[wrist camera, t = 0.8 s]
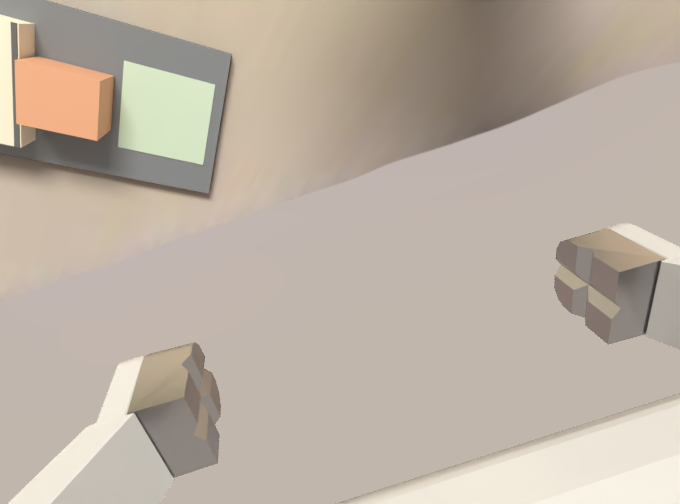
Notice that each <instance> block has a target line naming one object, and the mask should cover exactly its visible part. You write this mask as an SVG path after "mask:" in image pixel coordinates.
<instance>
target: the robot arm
mask: <svg viewBox="0 0 680 504" xmlns="http://www.w3.org/2000/svg"><path fill="white" fill-rule="evenodd" d="M556 259H557V260H558V262H559V263H560V264H561V267H560V268H559V270H558V271H557V273H556V274H555V286H554V288H555V291H556V294H557V296H558V299H559V301H560V302H561V303H562V305H563V306H564V307H565V308H566V309H567V310H568V311H569V312H570V313H572V314H575V315H578V316H581V317H585V324H586V326H587V327H588V328H589V329H590V330H592V331H593V332H594V333H595V334H596V335H597V336H599V337H600V338H601V339H603V341H605V342H606V343H607V344H612V343H615V342H618V341H622V340H626V339H630V338H633V337H637V336H640V335H644V334H646V337H649V338H652V339H654V340H657V341H659V342H662V343H664V344H667V345H669V346H672V347H675V348H677V349H680V247H678V246H676V245H674V244H672V243H670V242H668V241H666V240H664V239H662V238H659V237H658V236H656V235H654V234H651V233H649V232H647V231H645V230H643V229H641V228H639V227H637V226H635V225H633V224H631V223H621V224H617V225H614V226H611V227H607V228H604V229H602V230H600V231H596V232H593V233H589V234H586V235H582V236H579V237H575V238H572V239H569V240H565V241H562V242H560V243H559V246H558V247H557V252H556ZM204 361H205V356H204V354H203V352H202V350H201V348H200V346H199V345H198V344H197V343H190V344H187V345H183V346H179V347H175V348H171V349H167V350H163V351H159V352H155V353H151V354H148V355H143V356H140V357H137V358H133V359H129V360H126V361H123V362H121V363H120V364H119V365H118V366H117V368H116V371H115V374H114V376H113V379H112V382H111V385H110V387H109V390H108V393H107V395H106V398H105V400H104V403H103V406H102V409H101V411H100V414H99V416H98V419H97V422H96V424H93V425H90V426H87V427H86V428H85V429H84V430H83V431H82V432H81V433H80V434H79V435H78V436H77V437H76V438H75V439H74V440H73V441H72V442H71V443H70V444H69V445H68V446H67V447H66V448H65V449H64V450H63V451H61V452H60V453H59V454H58V455H57V456H56V457H55V458H54V459H53V460H52V461H51V462H50V463H49V464H48V465H47V466H46V467H45V468H44V469H43V470H42V471H41V472H40V473H39V474H38V475H37V476H36V477H35V478H34V479H33V480H32V481H31V482H30V483H28V485H26V486H25V487H24V488H23V489H22V491H20V492H19V493H18V494H17V495H16V496H15V497H14V498H13V499H12V500H11V501H10V502H9V503H8V504H160V503H161V502H162V500H163V498H164V497H165V495H166V494H167V492H168V490H169V489H170V487H171V485H172V484H173V482H174V477H178V476H181V475H184V474H187V473H189V472H192V471H195V470H198V469H201V468H204V467H208V466H211V465H214V464H217V463H218V449H219V433H218V431H217V429H216V426H215V423H216V422H217V421H218V419H219V417H220V410H221V409H220V408H221V405H220V397H219V391H218V387H217V384H216V381H215V378H214V376H213V374H212V372H210V371H208V370H206V369H204ZM337 504H680V393H679V394H676V395H673V396H670V397H667V398H664V399H661V400H657V401H654V402H651V403H648V404H645V405H642V406H639V407H635V408H632V409H629V410H626V411H623V412H620V413H617V414H614V415H611V416H607V417H604V418H601V419H598V420H595V421H592V422H589V423H586V424H582V425H580V426H576V427H573V428H570V429H567V430H564V431H561V432H557V433H554V434H551V435H548V436H545V437H542V438H539V439H536V440H533V441H529V442H527V443H523V444H520V445H517V446H514V447H511V448H508V449H505V450H502V451H499V452H495V453H492V454H489V455H486V456H483V457H480V458H476V459H473V460H470V461H467V462H464V463H461V464H458V465H455V466H452V467H448V468H445V469H442V470H439V471H436V472H433V473H430V474H427V475H424V476H420V477H417V478H414V479H411V480H408V481H405V482H402V483H399V484H395V485H393V486H389V487H386V488H383V489H380V490H377V491H374V492H371V493H367V494H364V495H361V496H358V497H355V498H352V499H349V500H346V501H343V502H340V503H337Z"/></svg>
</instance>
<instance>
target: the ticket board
mask: <svg viewBox="0 0 680 504" xmlns="http://www.w3.org/2000/svg"><path fill="white" fill-rule="evenodd" d="M231 55H232V54H230V53H226V52H223V51H219V50H216V49H213V48H209V47H206V46H202V45H199V44H195V43H192V42H188V41H185V40H182V39H178V38H175V37H171V36H168V35H164V34H161V33H157V32H154V31H151V30H147V29H144V28H140V27H137V26H133V25H130V24H126V23H123V22H120V21H116V20H113V19H109V18H106V17H102V16H99V15H95V14H92V13H89V12H85V11H82V10H78V9H75V8H71V7H68V6H64V5H61V4H58V3H54V2H51V1H47V0H0V154H5V155H11V156H16V157H21V158H26V159H31V160H37V161H42V162H47V163H52V164H57V165H62V166H68V167H73V168H78V169H83V170H88V171H94V172H99V173H104V174H109V175H114V176H120V177H125V178H130V179H135V180H140V181H146V182H151V183H156V184H161V185H166V186H172V187H177V188H182V189H187V190H192V191H198V192H203V193H208V194H209V190H210V184H211V177H212V171H213V165H214V159H215V153H216V147H217V141H218V134H219V128H220V122H221V116H222V110H223V104H224V98H225V91H226V85H227V79H228V73H229V67H230V61H231ZM37 56H39V57H43V58H47V59H51V60H55V61H59V62H63V63H67V64H71V65H75V66H79V67H82V68H86V69H90V70H94V71H98V72H102V73H106V74H110V75H114V89H113V105H112V121H111V130H110V131H109V132H108V133H107V134H105V135H104V136H103V137H102V138H100V139H99V140H98V141H95V140H90V139H86V138H81V137H76V136H71V135H67V134H62V133H57V132H53V131H48V130H43V129H38V128H34V127H29V126H24V125H20V124H16V95H15V60H17V59H23V58H30V57H37Z"/></svg>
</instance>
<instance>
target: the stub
mask: <svg viewBox="0 0 680 504" xmlns="http://www.w3.org/2000/svg"><path fill="white" fill-rule="evenodd" d="M113 89H114V75H110V74H106V73H102V72H98V71H94V70H90V69H86V68H82V67H79V66H75V65H71V64H67V63H63V62H59V61H55V60H51V59H47V58H43V57H39V56H37V57H30V58H23V59H17V60H15V95H16V124H20V125H24V126H29V127H34V128H38V129H43V130H48V131H53V132H57V133H62V134H67V135H71V136H76V137H81V138H86V139H90V140H95V141H98V140H99V139H100V138H102V137H103V136H104V135H105V134H107V133H108V132H109V131H110V130H111V121H112V105H113Z"/></svg>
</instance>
